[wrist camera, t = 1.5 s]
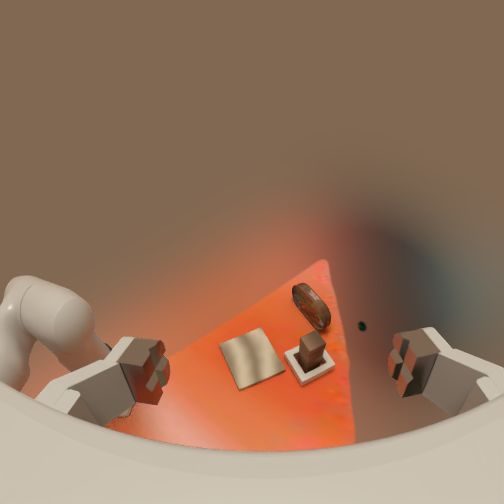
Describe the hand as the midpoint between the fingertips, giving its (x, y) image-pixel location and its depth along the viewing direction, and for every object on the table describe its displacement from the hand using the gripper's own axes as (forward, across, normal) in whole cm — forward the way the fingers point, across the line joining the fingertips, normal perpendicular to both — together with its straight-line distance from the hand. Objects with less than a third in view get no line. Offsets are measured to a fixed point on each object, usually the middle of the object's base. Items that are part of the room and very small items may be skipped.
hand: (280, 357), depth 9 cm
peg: (+45, +8, -38) cm, 60 cm away
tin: (+59, +10, -32) cm, 68 cm away
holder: (+45, +8, -38) cm, 60 cm away
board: (+47, -6, -38) cm, 61 cm away
